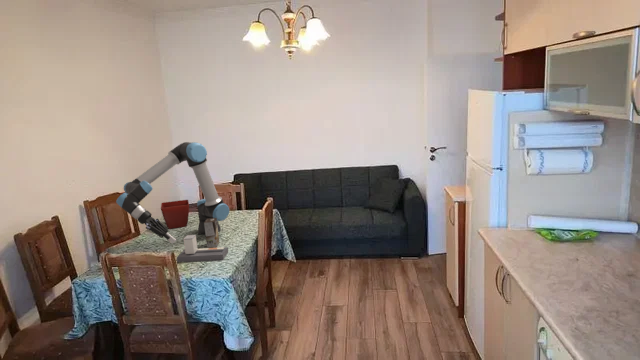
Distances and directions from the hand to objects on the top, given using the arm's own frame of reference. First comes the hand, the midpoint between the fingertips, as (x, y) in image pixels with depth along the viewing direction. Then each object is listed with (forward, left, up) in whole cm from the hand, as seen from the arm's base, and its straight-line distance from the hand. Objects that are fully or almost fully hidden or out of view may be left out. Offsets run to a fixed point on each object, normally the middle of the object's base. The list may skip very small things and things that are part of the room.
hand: (174, 241), depth 241 cm
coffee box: (-25, +7, -11) cm, 28 cm away
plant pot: (-56, -47, -11) cm, 74 cm away
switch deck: (-6, +14, -10) cm, 18 cm away
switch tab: (-4, +8, -7) cm, 11 cm away
